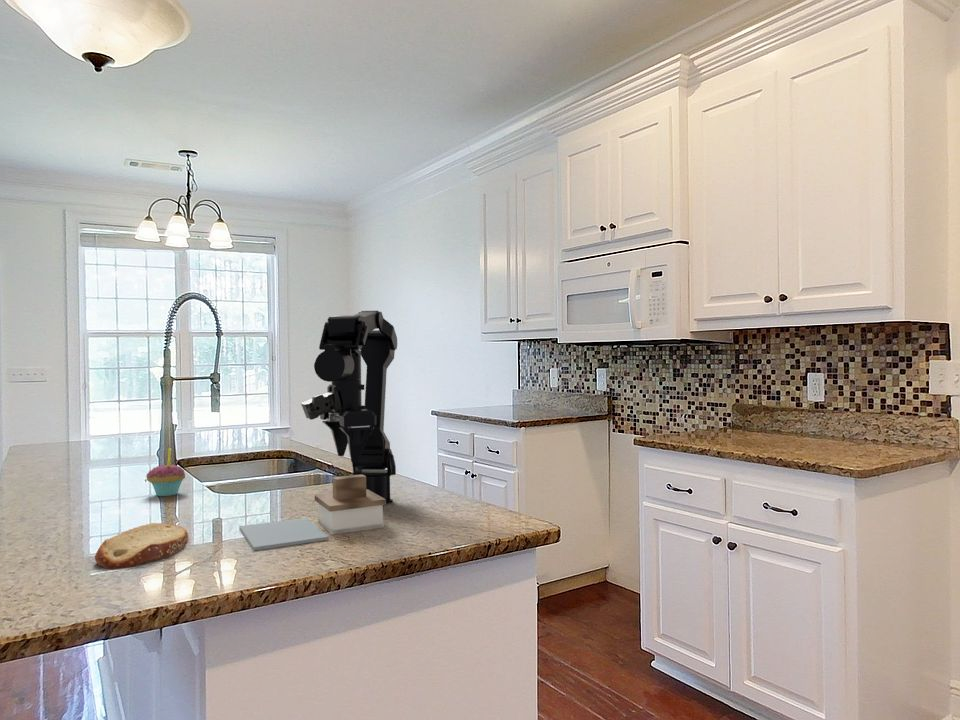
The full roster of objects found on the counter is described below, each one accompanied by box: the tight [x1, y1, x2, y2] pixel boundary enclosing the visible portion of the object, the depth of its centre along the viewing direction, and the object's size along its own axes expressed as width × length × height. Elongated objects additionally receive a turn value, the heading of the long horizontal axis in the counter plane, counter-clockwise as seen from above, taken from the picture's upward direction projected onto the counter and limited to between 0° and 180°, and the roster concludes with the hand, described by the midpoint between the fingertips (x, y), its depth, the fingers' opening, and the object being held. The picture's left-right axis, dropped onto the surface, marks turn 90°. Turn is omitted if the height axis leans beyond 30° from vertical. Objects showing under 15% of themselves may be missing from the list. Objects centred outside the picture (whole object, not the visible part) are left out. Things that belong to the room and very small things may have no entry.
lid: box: [314, 474, 387, 511], centre depth 132 cm, size 11×11×5 cm
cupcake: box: [145, 445, 186, 497], centre depth 163 cm, size 9×8×12 cm
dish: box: [317, 502, 384, 536], centre depth 132 cm, size 10×10×4 cm
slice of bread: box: [94, 522, 189, 570], centre depth 118 cm, size 18×18×4 cm
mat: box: [238, 517, 329, 552], centre depth 126 cm, size 13×16×1 cm
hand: (347, 459), depth 132 cm, fingers open, 9 cm apart
